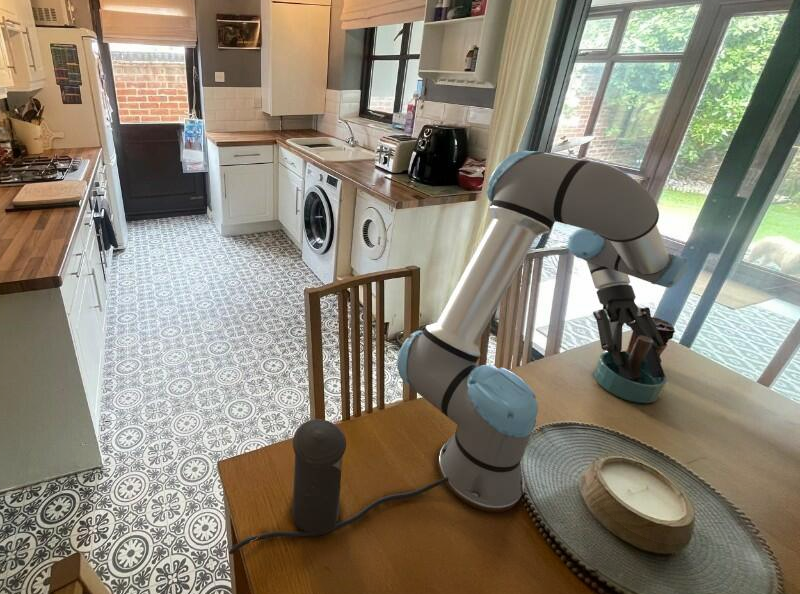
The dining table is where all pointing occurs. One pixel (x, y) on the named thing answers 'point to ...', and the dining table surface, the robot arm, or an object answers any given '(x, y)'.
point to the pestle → (638, 356)
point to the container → (317, 475)
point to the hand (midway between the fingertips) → (643, 378)
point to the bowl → (628, 381)
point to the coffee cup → (664, 331)
